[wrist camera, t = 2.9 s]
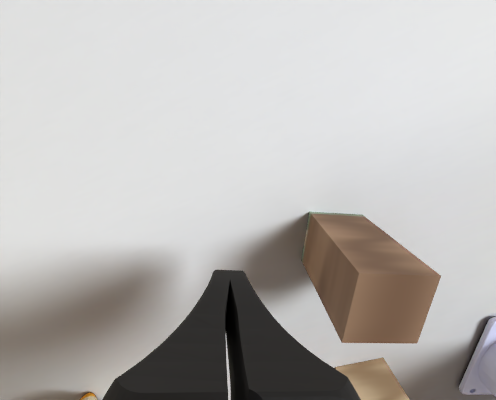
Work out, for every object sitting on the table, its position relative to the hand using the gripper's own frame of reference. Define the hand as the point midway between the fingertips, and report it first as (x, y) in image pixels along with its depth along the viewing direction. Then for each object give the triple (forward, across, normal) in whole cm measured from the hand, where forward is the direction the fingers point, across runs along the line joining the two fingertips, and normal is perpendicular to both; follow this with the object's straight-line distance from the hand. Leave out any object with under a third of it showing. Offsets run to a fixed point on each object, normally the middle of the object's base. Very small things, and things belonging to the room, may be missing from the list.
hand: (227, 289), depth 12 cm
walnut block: (+6, -7, 0) cm, 9 cm away
